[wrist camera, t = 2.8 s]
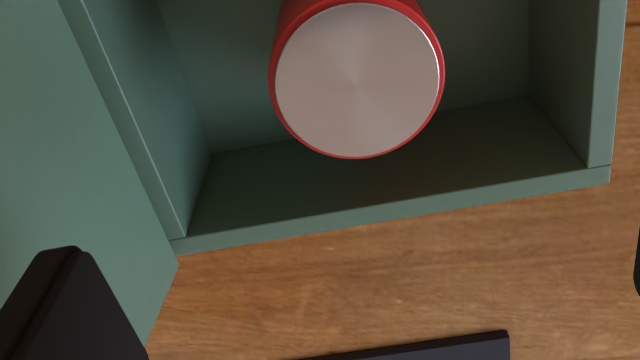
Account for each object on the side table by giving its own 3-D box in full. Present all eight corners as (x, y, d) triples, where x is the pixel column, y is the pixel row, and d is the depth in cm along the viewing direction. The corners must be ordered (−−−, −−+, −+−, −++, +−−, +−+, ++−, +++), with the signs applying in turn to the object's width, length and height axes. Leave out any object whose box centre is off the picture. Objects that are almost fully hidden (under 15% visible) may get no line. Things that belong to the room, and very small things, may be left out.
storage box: (545, -216, 18) (651, -236, 12) (540, 99, 24) (610, 184, 18) (102, -108, 20) (14, -81, 14) (204, 162, 26) (172, 257, 20)
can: (401, -70, 20) (439, -25, 14) (416, 60, 22) (453, 146, 16) (266, -40, 20) (245, 16, 14) (297, 83, 23) (290, 176, 17)
